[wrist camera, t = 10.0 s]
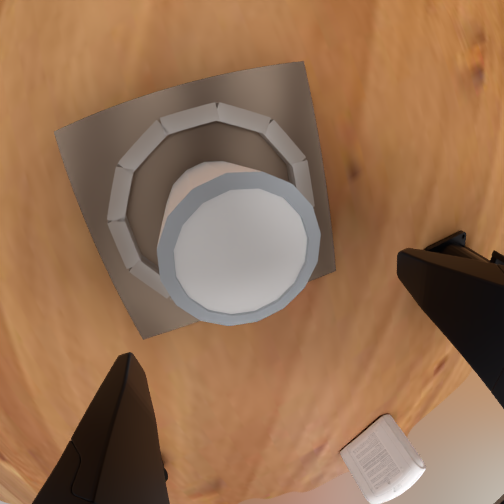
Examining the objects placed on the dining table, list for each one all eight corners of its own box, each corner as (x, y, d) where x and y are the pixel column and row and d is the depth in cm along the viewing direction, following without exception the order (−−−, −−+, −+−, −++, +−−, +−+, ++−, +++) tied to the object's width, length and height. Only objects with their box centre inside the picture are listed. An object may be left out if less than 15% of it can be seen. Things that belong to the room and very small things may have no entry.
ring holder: (296, 63, 17) (310, 59, 15) (329, 264, 24) (342, 277, 23) (58, 130, 15) (48, 132, 13) (143, 331, 22) (143, 348, 20)
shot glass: (287, 217, 20) (344, 265, 14) (201, 279, 20) (224, 351, 14) (229, 126, 17) (271, 134, 11) (132, 198, 17) (119, 247, 11)
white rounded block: (349, 453, 43) (382, 508, 32) (334, 453, 41) (369, 513, 30) (394, 413, 41) (435, 469, 30) (381, 411, 39) (426, 472, 28)
